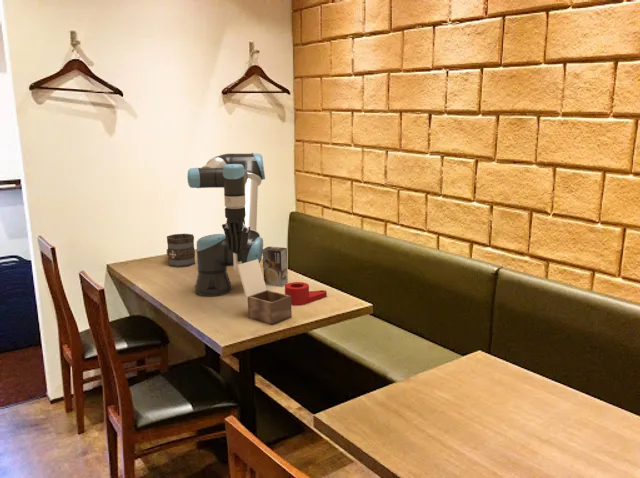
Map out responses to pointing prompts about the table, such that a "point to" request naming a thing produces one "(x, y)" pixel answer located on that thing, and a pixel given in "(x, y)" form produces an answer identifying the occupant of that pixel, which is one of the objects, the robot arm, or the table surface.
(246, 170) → the robot arm
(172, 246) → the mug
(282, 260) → the coffee box
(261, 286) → the lid
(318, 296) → the lever
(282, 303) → the box
